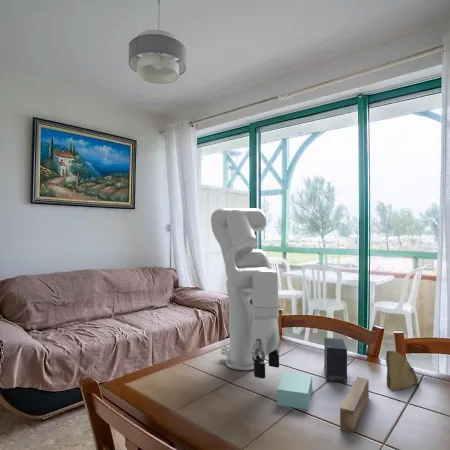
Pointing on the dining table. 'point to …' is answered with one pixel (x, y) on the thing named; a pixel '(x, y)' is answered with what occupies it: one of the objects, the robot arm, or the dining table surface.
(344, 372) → the small box
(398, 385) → the rock
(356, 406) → the walnut board
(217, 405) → the dining table surface
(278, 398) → the teal block
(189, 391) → the dining table surface
